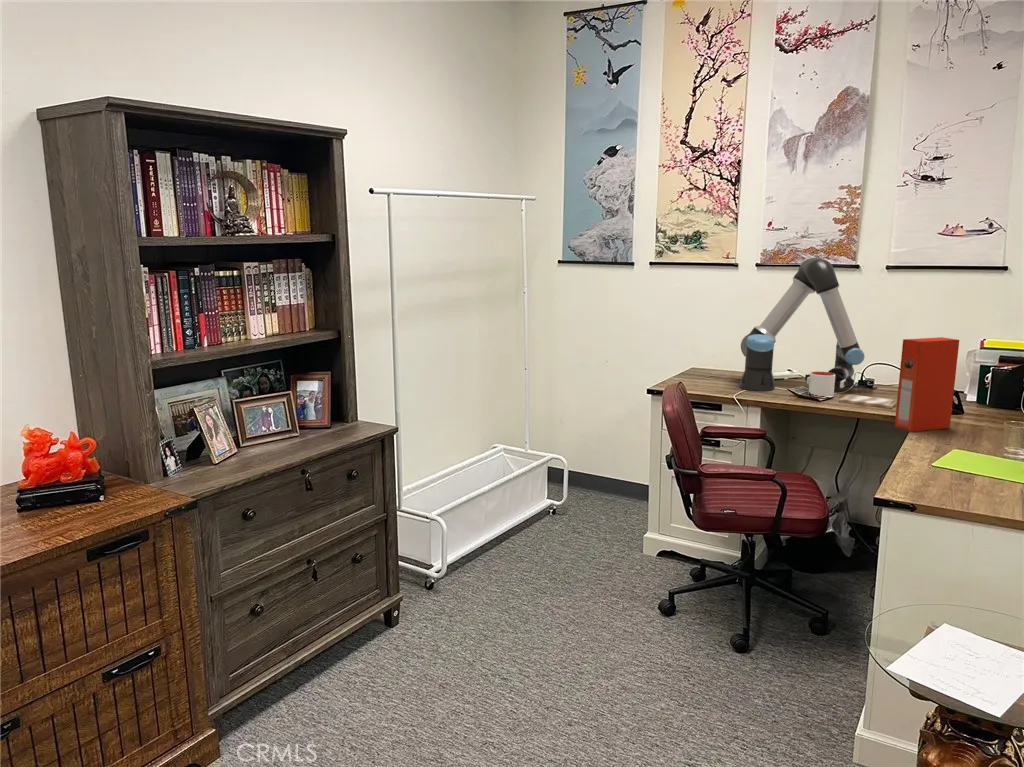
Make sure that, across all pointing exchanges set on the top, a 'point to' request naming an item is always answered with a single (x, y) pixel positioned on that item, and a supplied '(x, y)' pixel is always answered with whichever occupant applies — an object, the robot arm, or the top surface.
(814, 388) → the cup
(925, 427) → the file binder
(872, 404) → the writing board
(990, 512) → the top surface
